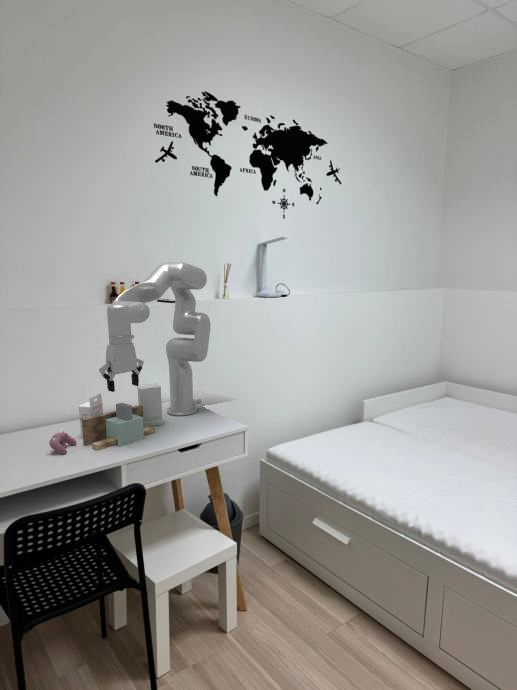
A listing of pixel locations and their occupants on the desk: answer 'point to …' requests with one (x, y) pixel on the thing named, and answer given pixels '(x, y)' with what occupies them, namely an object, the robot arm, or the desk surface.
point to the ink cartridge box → (90, 409)
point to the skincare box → (151, 404)
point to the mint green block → (125, 425)
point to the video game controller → (61, 442)
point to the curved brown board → (97, 429)
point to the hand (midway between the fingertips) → (123, 388)
